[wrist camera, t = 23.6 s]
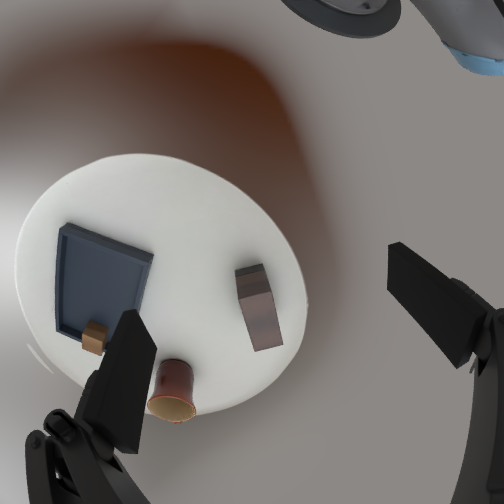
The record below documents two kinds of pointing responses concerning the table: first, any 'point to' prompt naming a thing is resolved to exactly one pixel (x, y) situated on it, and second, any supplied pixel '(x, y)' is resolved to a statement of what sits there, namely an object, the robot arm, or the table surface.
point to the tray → (96, 280)
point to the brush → (258, 307)
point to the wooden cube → (95, 338)
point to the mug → (173, 392)
